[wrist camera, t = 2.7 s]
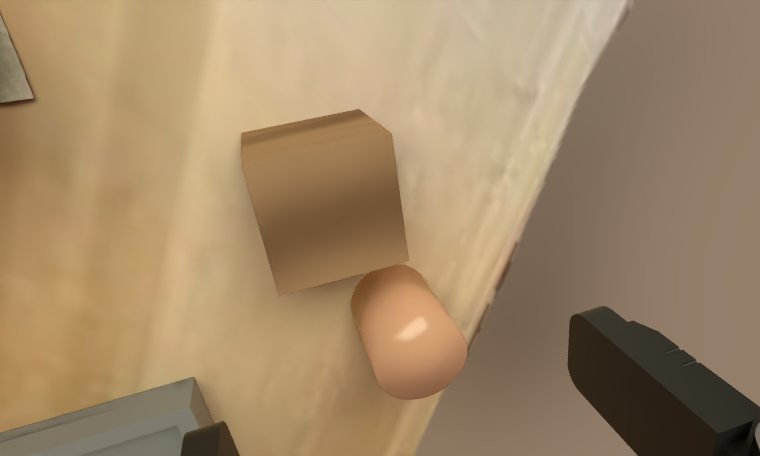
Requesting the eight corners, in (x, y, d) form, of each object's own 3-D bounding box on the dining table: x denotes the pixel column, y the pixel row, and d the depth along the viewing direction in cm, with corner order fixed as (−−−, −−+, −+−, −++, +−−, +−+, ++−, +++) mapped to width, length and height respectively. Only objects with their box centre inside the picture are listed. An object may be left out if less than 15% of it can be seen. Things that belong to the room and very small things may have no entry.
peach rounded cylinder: (344, 276, 27) (368, 337, 22) (422, 255, 28) (464, 309, 23) (357, 341, 30) (383, 411, 24) (430, 320, 30) (469, 382, 25)
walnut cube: (241, 132, 23) (241, 165, 17) (358, 108, 24) (391, 133, 18) (271, 239, 25) (279, 296, 20) (375, 213, 26) (408, 261, 21)
